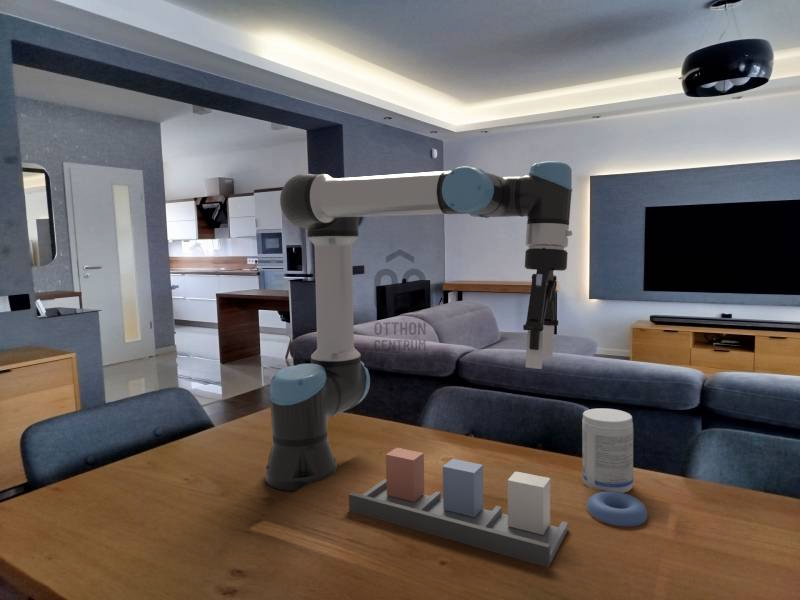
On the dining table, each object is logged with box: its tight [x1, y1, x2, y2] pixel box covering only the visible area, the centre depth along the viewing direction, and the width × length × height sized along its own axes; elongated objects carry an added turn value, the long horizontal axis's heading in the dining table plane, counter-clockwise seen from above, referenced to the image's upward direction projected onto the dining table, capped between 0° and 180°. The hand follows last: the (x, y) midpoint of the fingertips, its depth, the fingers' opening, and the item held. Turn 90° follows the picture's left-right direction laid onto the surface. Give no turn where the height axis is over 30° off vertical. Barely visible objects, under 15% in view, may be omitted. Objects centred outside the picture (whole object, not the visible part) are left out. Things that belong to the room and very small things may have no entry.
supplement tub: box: [581, 407, 634, 494], centre depth 108 cm, size 10×10×15 cm
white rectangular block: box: [507, 470, 551, 535], centre depth 90 cm, size 6×4×8 cm, turn 59°
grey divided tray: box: [348, 478, 569, 568], centre depth 93 cm, size 36×12×4 cm, turn 59°
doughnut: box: [586, 491, 648, 528], centre depth 94 cm, size 10×10×5 cm
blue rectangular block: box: [442, 458, 484, 517], centre depth 96 cm, size 6×4×8 cm, turn 59°
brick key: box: [385, 447, 425, 502], centre depth 102 cm, size 6×4×8 cm, turn 59°
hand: (539, 362), depth 100 cm, fingers open, 13 cm apart
